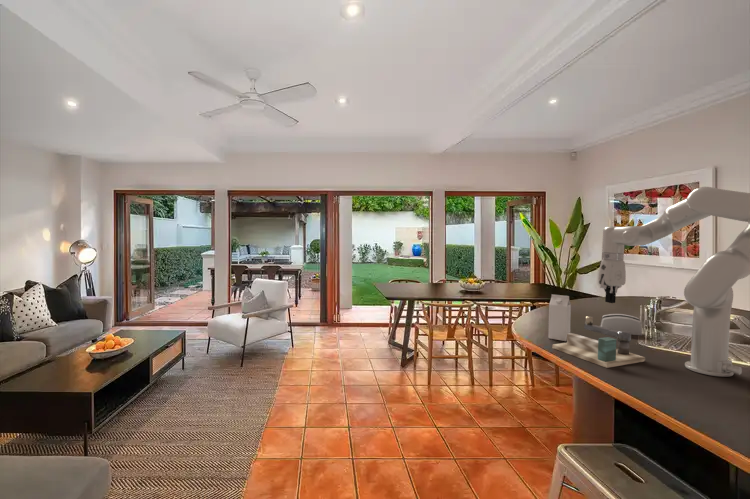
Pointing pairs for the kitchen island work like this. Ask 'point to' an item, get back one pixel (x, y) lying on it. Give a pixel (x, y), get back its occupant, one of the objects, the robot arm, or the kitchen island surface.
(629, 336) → the swing bar
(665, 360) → the kitchen island surface
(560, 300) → the milk carton
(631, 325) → the grey curved block
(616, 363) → the base
